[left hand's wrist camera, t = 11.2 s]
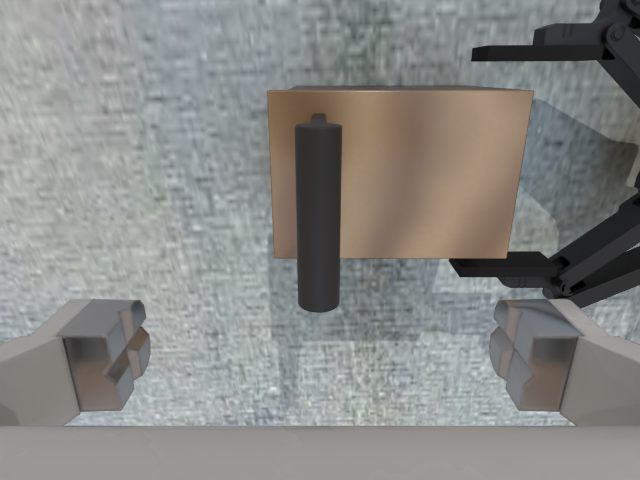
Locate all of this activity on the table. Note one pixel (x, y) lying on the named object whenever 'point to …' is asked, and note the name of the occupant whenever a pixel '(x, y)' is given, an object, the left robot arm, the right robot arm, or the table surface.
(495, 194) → the lid
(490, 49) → the right robot arm
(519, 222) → the table surface
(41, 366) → the left robot arm
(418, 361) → the table surface
